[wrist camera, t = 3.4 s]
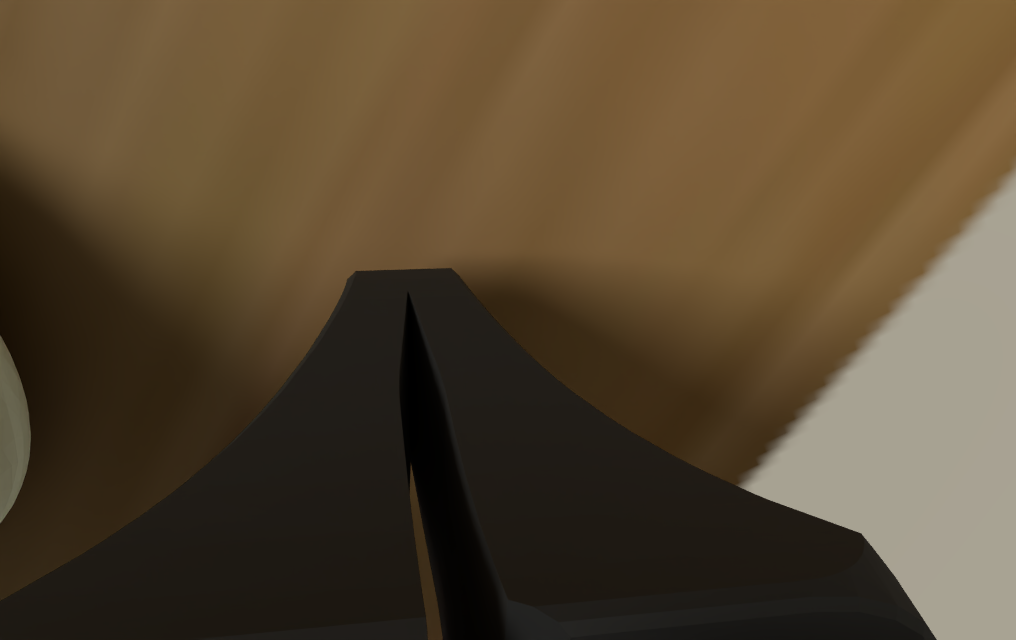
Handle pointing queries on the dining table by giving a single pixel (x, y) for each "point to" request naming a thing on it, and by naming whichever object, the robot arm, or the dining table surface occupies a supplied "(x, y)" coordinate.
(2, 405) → the can
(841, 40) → the dining table surface
